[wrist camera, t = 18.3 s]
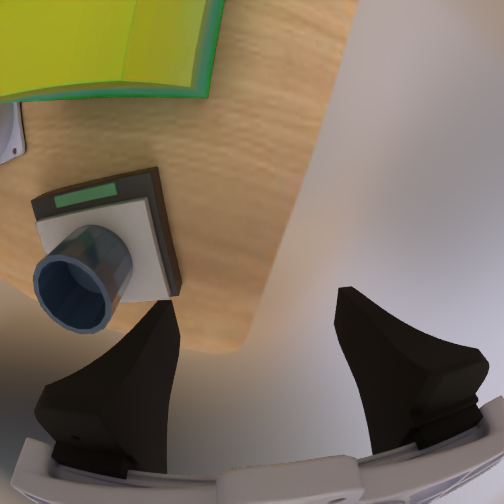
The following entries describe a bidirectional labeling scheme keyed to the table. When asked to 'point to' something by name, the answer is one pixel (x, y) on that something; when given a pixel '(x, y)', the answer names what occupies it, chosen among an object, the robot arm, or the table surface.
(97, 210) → the scale
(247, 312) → the table surface
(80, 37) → the apple
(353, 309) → the robot arm
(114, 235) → the cup
